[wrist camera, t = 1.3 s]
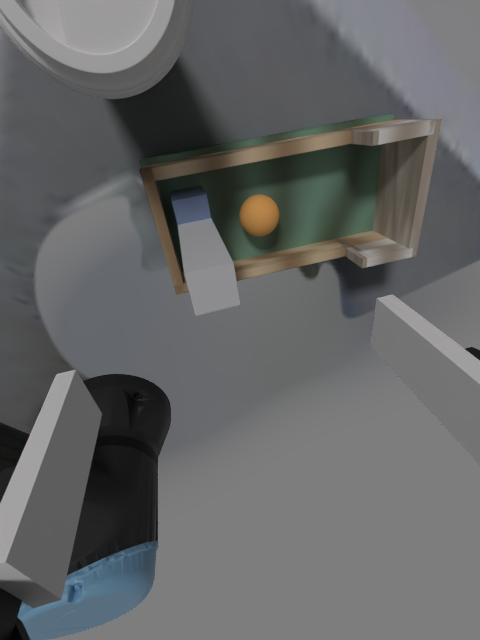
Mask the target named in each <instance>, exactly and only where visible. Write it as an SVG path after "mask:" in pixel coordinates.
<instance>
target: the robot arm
mask: <svg viewBox="0 0 480 640" xmlns="http://www.w3.org/2000/svg"><path fill="white" fill-rule="evenodd" d="M371 347H372V348H373V349H374V350H375V351H376V353H377V354H378V355H379V356H380V357H381V358H382V359H383V360H384V361H385V362H386V363H387V364H388V366H389V367H390V368H391V369H392V370H393V371H394V372H395V373H396V374H397V375H398V377H399V378H400V379H401V380H402V381H403V382H404V383H405V384H406V385H407V386H408V387H409V389H410V390H411V391H412V392H413V393H414V394H415V395H416V396H417V397H418V398H419V399H420V400H421V402H422V403H423V404H424V405H425V406H426V407H427V408H428V409H429V410H430V411H431V413H432V414H433V415H434V416H435V417H436V418H437V419H438V420H439V421H440V422H441V423H442V425H443V426H444V427H445V428H446V429H447V430H448V431H449V432H450V433H451V434H452V435H453V437H454V438H455V439H456V440H457V441H458V442H459V443H460V444H461V445H462V446H463V448H465V450H466V451H467V452H468V453H469V454H470V455H471V456H472V457H473V458H474V460H475V461H476V462H477V463H478V464H479V465H480V350H478V349H475V348H473V347H470V348H466V349H464V348H462V347H461V346H460V345H459V344H457V343H456V342H454V341H453V340H452V339H450V338H449V337H448V336H447V335H445V334H444V333H443V332H441V331H440V330H439V329H437V328H436V327H435V326H434V325H432V324H431V323H429V322H428V321H427V320H426V319H424V318H423V317H422V316H420V315H419V314H418V313H416V312H415V311H414V310H412V309H411V308H410V307H408V306H407V305H406V304H404V303H403V302H402V301H401V300H399V299H398V298H397V297H395V296H394V295H389V296H384V297H380V298H377V300H376V308H375V316H374V324H373V332H372V340H371ZM170 422H171V408H170V402H169V399H168V398H167V396H166V394H165V393H164V392H163V391H162V390H161V389H160V388H159V387H158V386H156V385H155V384H154V383H152V382H150V381H148V380H146V379H143V378H140V377H136V376H131V375H124V374H109V375H102V376H97V377H94V378H91V379H88V380H86V381H84V382H83V381H82V379H81V378H80V376H79V374H78V373H77V371H76V370H72V371H68V372H64V373H59V374H56V376H55V379H54V381H53V383H52V385H51V388H50V390H49V392H48V395H47V397H46V399H45V402H44V404H43V406H42V408H41V411H40V413H39V415H38V418H37V420H36V422H35V425H34V427H33V429H32V431H31V434H30V435H29V434H27V433H25V432H22V431H20V430H17V429H15V428H13V427H10V426H8V425H5V424H3V423H0V640H46V639H52V638H57V637H61V636H65V635H70V634H74V633H78V632H81V631H84V630H87V629H90V628H93V627H96V626H99V625H102V624H104V623H106V622H109V621H111V620H113V619H116V618H118V617H119V616H121V615H123V614H125V613H127V612H129V611H130V610H132V609H133V608H135V607H136V606H137V605H138V604H140V603H141V602H142V601H143V600H144V599H145V597H146V596H147V595H148V593H149V591H150V589H151V588H152V585H153V581H154V575H155V562H156V550H157V549H158V477H157V476H158V473H157V472H158V456H159V454H160V451H161V448H162V446H163V443H164V440H165V438H166V435H167V433H168V430H169V427H170Z"/></svg>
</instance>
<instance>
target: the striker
mask: <svg viewBox="0 0 480 640" xmlns="http://www.w3.org/2000/svg"><path fill="white" fill-rule="evenodd" d="M171 201H172V205H173V209H174V213H175V217H176V221H177V224H178V231H179V239H180V246H181V254H182V261H183V269H184V275H185V279H186V282H187V286H188V290H189V293H190V297H191V301H192V305H193V308H194V312H195V315H200V314H204V313H209V312H213V311H217V310H222V309H226V308H230V307H235V306H239V305H240V299H239V293H238V287H237V281H236V275H235V269H234V263H233V261H232V259H231V257H230V255H229V253H228V251H227V249H226V247H225V245H224V243H223V241H222V239H221V237H220V235H219V233H218V231H217V229H216V227H215V225H214V223H213V221H212V219H211V215H210V209H209V204H208V199H207V194H206V193H205V191H204V189H203V188H202V186H196V187H191V188H186V189H181V190H176V191H171Z"/></svg>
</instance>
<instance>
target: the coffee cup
mask: <svg viewBox="0 0 480 640" xmlns="http://www.w3.org/2000/svg"><path fill="white" fill-rule="evenodd" d="M192 11H193V0H0V26H1V28H2V29H3V31H4V32H5V33H6V35H7V36H8V37H9V39H10V40H11V41H12V42H13V43H14V45H15V46H16V47H17V48H18V49H19V50H20V51H21V52H22V54H23V55H24V56H25V57H26V58H27V59H28V60H30V61H31V62H32V63H33V64H34V65H35V66H36V67H37V68H39V69H40V70H41V71H42V72H44V73H45V74H46V75H48V76H49V77H50V78H52V79H53V80H55V81H57V82H58V83H60V84H62V85H63V86H65V87H67V88H69V89H71V90H74V91H76V92H79V93H81V94H84V95H88V96H91V97H96V98H103V99H121V98H127V97H131V96H135V95H138V94H140V93H142V92H144V91H146V90H148V89H150V88H151V87H153V86H154V85H156V84H157V83H158V82H159V81H160V80H162V79H163V78H164V77H165V75H166V74H167V73H168V72H169V71H170V70H171V68H172V67H173V65H174V64H175V62H176V61H177V59H178V57H179V55H180V53H181V51H182V49H183V46H184V44H185V41H186V38H187V35H188V32H189V28H190V23H191V18H192Z"/></svg>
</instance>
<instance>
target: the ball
mask: <svg viewBox="0 0 480 640" xmlns="http://www.w3.org/2000/svg"><path fill="white" fill-rule="evenodd" d="M239 219H240V223H241V225H242V227H243V229H244V230H245V231H246V232H247V233H249V234H250V235H253V236H265V235H267V234H269V233H271V232H272V231H273V230H274V229H275V227H276V226H277V224H278V221H279V209H278V207H277V204H276V203H275V201H274V200H273V199H272V198H270V197H268V196H266V195H262V194H258V195H253V196H251V197H249V198H248V199H246V200H245V202H244V203H243V204H242V206H241V209H240V213H239Z"/></svg>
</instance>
